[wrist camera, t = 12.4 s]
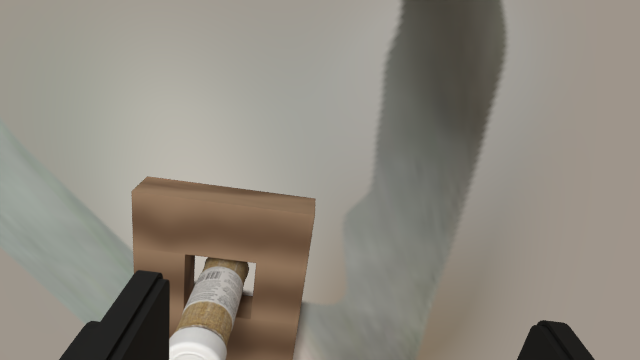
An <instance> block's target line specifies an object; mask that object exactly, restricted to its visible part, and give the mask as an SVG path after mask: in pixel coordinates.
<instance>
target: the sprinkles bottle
mask: <svg viewBox="0 0 640 360" xmlns="http://www.w3.org/2000/svg"><path fill="white" fill-rule="evenodd" d="M248 271H249V267H248V263H247V262H244V261H236V260H228V259H220V258H212V257H208V258H207V259H206V262H205V267H204V269H203V271H202V273H201V275H200V276H199V278H198V280H197V282H196V284H195V286H194V289H193V291H192V293H191V295H190V297H189V300H188V302H187V304H186V306H185V308H184V311H183V313H182V317H181V320H180V322H179V325H178V327H177V329H176V331H175V332H174V334H173V335H172V336H171V338H170V339H169V360H225V359H226V355H227V343H228V340H229V336H230V333H231V331H232V328H233V325H234V321H235V317H236V314H237V310H238V307H239V303H240V299H241V296H242V292H243V286H244V282H245V279H246V277H247V275H248Z"/></svg>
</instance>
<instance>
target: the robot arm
mask: <svg viewBox="0 0 640 360" xmlns="http://www.w3.org/2000/svg"><path fill="white" fill-rule="evenodd" d="M169 327H170V282H169V280H167V279H163V275H162V273H160V272H152V271H144V270H138V271H136V272H135V274H134V275H133V276H132V278H131V279H130V281H129V282H128V283H127V285H126V286H125V288H124V289H123V291H122V292H121V293H120V295H119V296H118V298H117V299H116V300H115V302H114V303H113V305H112V306H111V308H110V309H109V310H108V312H107V313H106V315H105V316H104V317H103V319H102V320H101V322H96V321H90V322H89V323H87V324H86V325H85V326H84V327H83V328H82V330H81V331H80V332H79V334H78V335H77V336H76V338H75V339H74V340H73V342H72V343H71V344H70V346H69V347H68V349H67V350H66V351H65V352H64V354H63V355H62V356H61V358H60V359H59V360H169ZM517 360H594V358H593V357H592V355H591V354H590V353H589V352H588V350H587V349H586V348H585V346H584V345H583V344H582V342H581V341H580V340H579V338H578V337H577V336H576V334H575V333H574V332H573V331H572V329H571V328H570V327H569V326H568V325H567V324H565V323H561V322H553V321H544V320H543V321H540V322H538V324H537V325H534V326H532V328H531V329H530V332H529V334H528V336H527V338H526V340H525V343H524V345H523V348H522V350H521V352H520V354H519V356H518V359H517Z"/></svg>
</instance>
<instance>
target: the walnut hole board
mask: <svg viewBox="0 0 640 360" xmlns="http://www.w3.org/2000/svg"><path fill="white" fill-rule="evenodd" d="M314 218H315V199H314V198H306V197H299V196H291V195H284V194H276V193H269V192H261V191H253V190H246V189H238V188H231V187H223V186H216V185H208V184H201V183H193V182H185V181H178V180H170V179H163V178H155V177H146V178H145V179H144V180H143V181H142V182H141V183H140V184H139V185H138V186H137V187H136V188H135V189H134V190H133V191H132V222H133V256H134V274H135V272H136V271H138V270H144V271H152V272H160V273H162V275H163V279H167V280H169V282H170V327H169V339H170V338H171V336H172V335H173V334H174V332H175V331H176V329H177V327H178V325H179V322H180V320H181V317H182V313H183V311H184V308H185V306H186V304H187V302H188V300H189V297H190V295H191V293H192V291H193V289H194V265H195V255H196V256H204V257H212V258H220V259H228V260H236V261H244V262H253V263H256V271H255V282H254V291H253V296H245V295H242V296H241V299H240V303H239V307H238V310H237V314H236V317H235V321H234V325H233V328H232V331H231V333H230V336H229V340H228V343H227V355H226V359H225V360H292V359H293V353H294V346H295V340H296V334H297V327H298V321H299V314H300V308H301V301H302V294H303V287H304V282H305V275H306V269H307V263H308V256H309V250H310V243H311V237H312V230H313V224H314Z"/></svg>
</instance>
